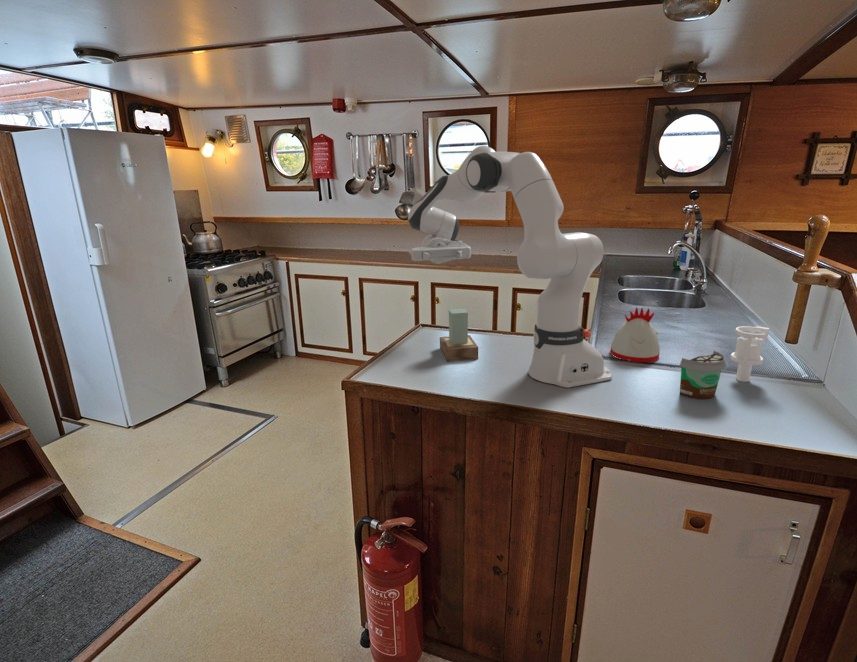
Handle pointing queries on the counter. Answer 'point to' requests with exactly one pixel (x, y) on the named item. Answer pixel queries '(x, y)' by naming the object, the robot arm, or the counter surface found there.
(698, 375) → the food container
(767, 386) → the counter surface
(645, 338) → the kitchen timer
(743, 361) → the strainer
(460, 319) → the pillar block
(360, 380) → the counter surface
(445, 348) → the build plinth
